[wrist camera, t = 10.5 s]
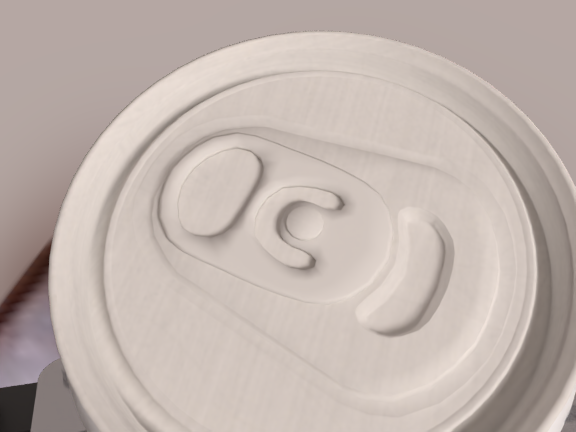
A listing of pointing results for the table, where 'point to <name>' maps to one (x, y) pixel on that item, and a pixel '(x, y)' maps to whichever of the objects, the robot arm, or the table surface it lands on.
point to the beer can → (318, 250)
